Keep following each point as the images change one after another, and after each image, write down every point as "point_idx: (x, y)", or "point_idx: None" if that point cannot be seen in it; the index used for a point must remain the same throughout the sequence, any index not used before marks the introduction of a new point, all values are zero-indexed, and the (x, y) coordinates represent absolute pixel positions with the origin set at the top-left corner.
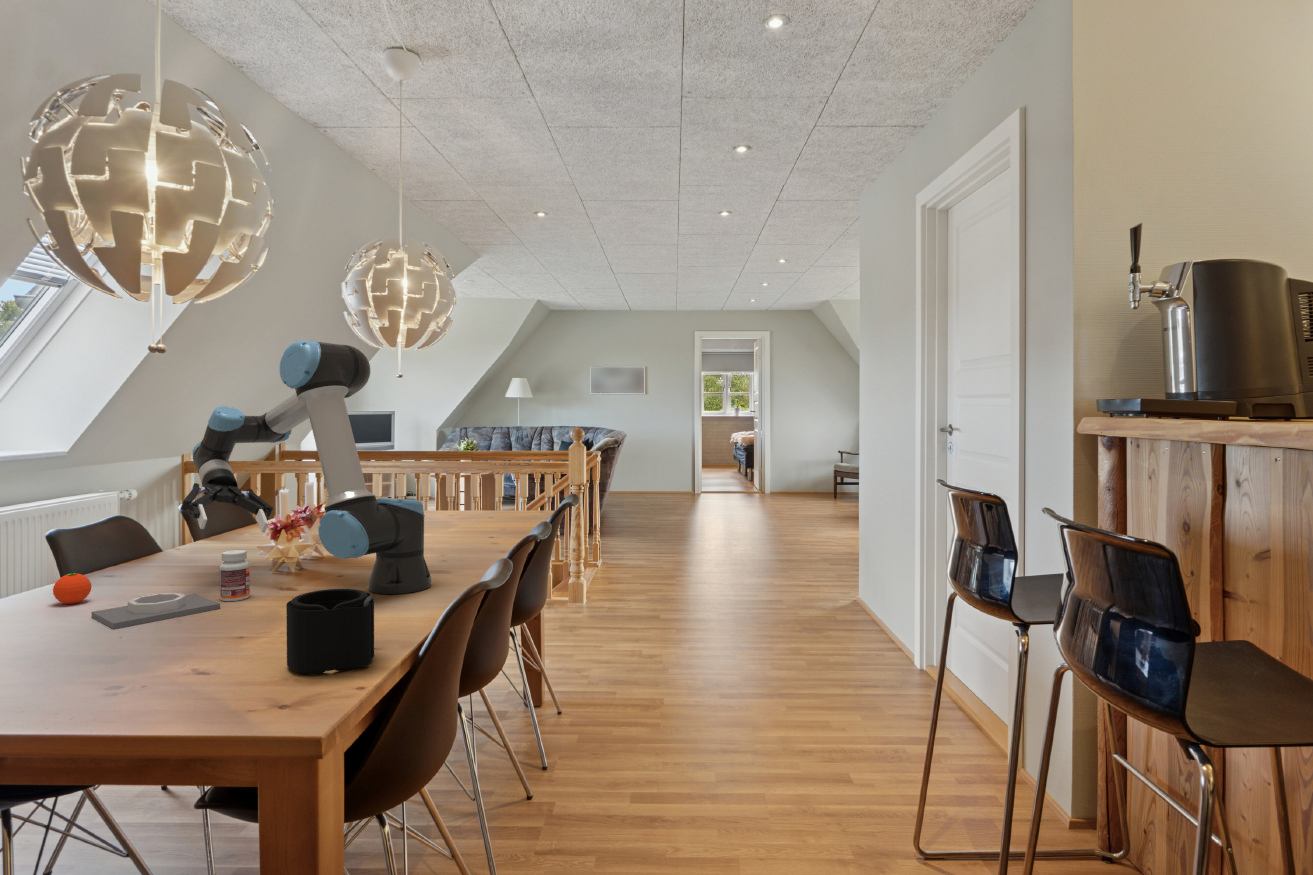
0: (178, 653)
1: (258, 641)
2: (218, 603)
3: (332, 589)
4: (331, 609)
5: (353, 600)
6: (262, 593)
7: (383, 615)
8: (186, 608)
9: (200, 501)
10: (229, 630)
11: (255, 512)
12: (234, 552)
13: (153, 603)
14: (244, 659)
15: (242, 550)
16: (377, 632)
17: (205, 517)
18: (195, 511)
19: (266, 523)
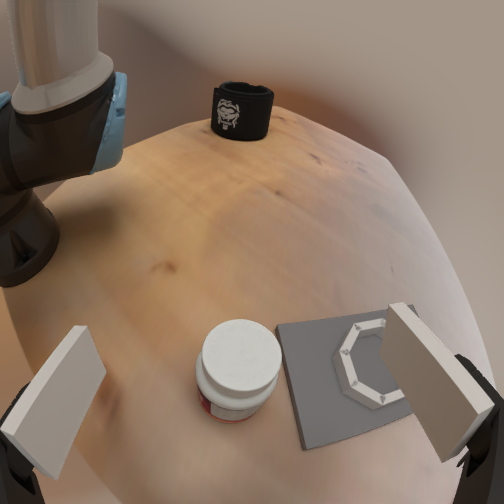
0: (332, 192)
1: (267, 177)
2: (280, 325)
3: (235, 91)
4: (253, 86)
5: (237, 82)
6: (165, 398)
7: (135, 171)
8: (332, 327)
9: (502, 452)
10: (284, 217)
11: (36, 497)
12: (243, 348)
13: (384, 324)
14: (286, 157)
15: (210, 363)
16: (177, 146)
17: (402, 314)
18: (468, 366)
19: (82, 326)
